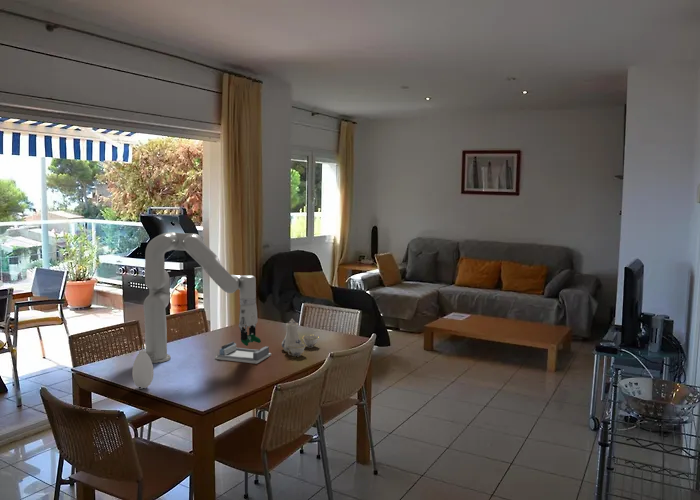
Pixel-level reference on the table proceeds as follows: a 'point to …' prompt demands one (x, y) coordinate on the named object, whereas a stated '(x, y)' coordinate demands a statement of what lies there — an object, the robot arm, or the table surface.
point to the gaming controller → (251, 339)
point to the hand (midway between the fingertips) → (248, 337)
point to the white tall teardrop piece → (142, 370)
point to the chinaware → (296, 340)
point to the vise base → (246, 355)
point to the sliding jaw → (228, 348)
